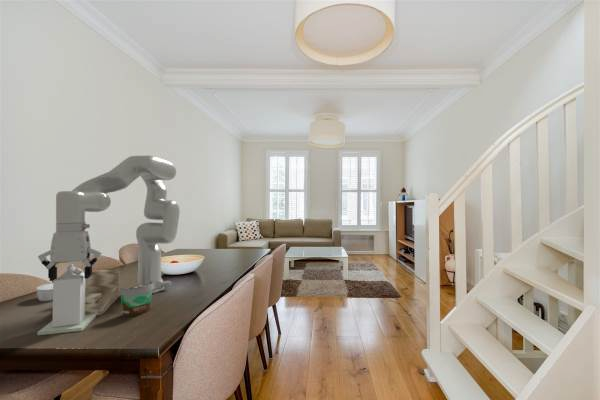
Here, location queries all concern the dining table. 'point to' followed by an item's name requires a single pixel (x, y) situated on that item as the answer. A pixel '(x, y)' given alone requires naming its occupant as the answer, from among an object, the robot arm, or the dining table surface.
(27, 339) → the dining table surface
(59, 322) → the milk carton
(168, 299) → the dining table surface
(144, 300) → the food container
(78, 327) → the sage board
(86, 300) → the offcut stack
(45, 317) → the dining table surface
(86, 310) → the birch rack
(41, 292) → the ramekin
